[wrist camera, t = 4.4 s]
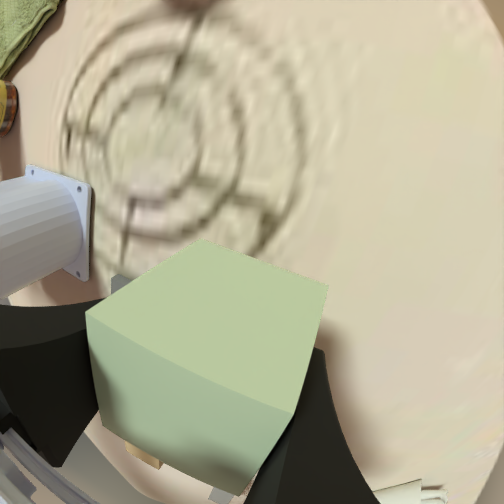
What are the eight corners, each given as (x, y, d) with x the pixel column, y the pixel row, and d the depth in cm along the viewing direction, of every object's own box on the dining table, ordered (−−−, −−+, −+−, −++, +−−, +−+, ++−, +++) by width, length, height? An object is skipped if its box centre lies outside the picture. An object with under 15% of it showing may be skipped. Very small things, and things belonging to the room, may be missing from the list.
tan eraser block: (138, 436, 28) (126, 450, 25) (137, 422, 26) (124, 438, 24) (170, 453, 27) (158, 469, 24) (171, 441, 26) (159, 458, 23)
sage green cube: (183, 338, 14) (102, 425, 8) (200, 238, 12) (85, 311, 6) (286, 381, 13) (238, 496, 7) (328, 285, 11) (293, 414, 5)
